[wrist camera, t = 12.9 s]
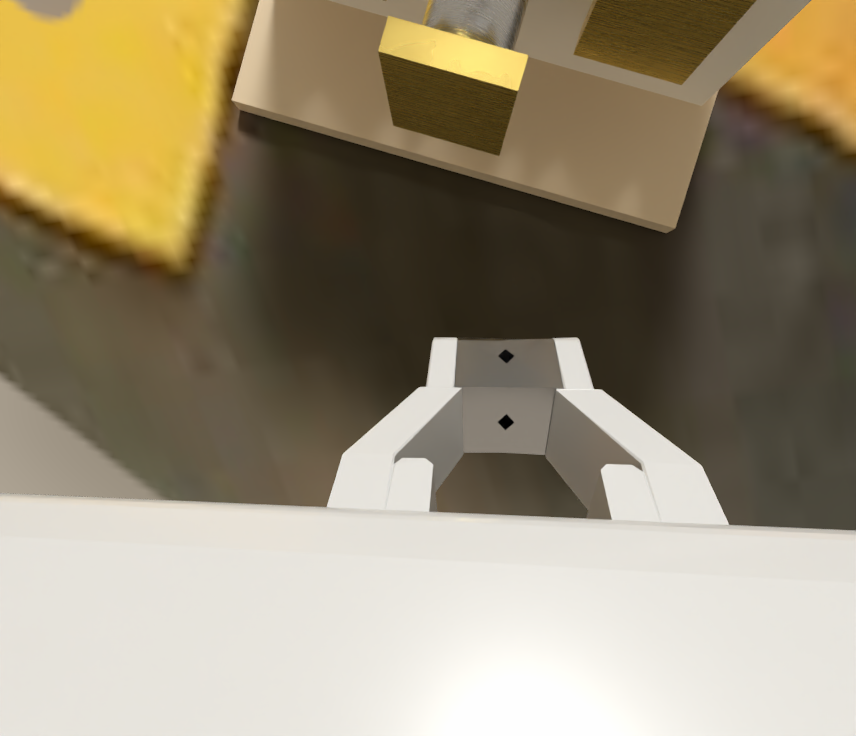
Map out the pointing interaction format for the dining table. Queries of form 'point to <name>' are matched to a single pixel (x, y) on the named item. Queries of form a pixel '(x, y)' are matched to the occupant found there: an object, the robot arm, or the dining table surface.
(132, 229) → the dining table surface
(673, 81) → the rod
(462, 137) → the middle rod
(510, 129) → the panel
